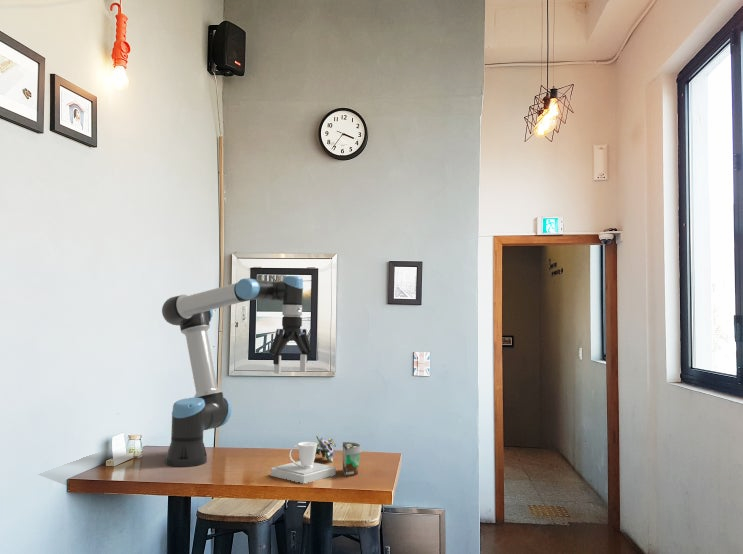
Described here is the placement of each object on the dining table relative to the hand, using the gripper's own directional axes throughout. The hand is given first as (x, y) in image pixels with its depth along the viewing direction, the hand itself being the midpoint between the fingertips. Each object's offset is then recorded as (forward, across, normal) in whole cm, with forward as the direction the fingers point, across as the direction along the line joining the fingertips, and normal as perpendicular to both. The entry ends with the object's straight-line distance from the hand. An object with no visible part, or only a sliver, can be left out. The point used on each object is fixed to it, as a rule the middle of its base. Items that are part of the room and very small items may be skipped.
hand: (290, 372), depth 228 cm
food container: (+35, +8, -25) cm, 44 cm away
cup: (+32, -6, -14) cm, 35 cm away
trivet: (+35, -6, -14) cm, 38 cm away
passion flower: (+35, +14, -4) cm, 38 cm away
